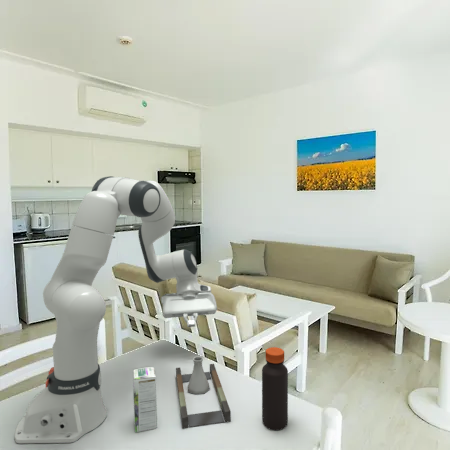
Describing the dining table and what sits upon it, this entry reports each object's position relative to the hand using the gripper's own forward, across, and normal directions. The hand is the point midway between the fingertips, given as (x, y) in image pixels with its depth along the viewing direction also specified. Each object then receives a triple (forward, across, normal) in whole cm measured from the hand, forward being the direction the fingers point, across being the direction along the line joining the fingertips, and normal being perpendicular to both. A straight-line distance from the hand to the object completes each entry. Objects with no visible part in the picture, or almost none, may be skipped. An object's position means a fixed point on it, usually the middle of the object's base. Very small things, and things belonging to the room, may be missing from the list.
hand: (191, 326), depth 128 cm
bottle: (+37, +18, -18) cm, 45 cm away
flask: (+22, 0, -3) cm, 22 cm away
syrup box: (+32, -16, -13) cm, 38 cm away
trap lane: (+25, 0, -6) cm, 26 cm away
